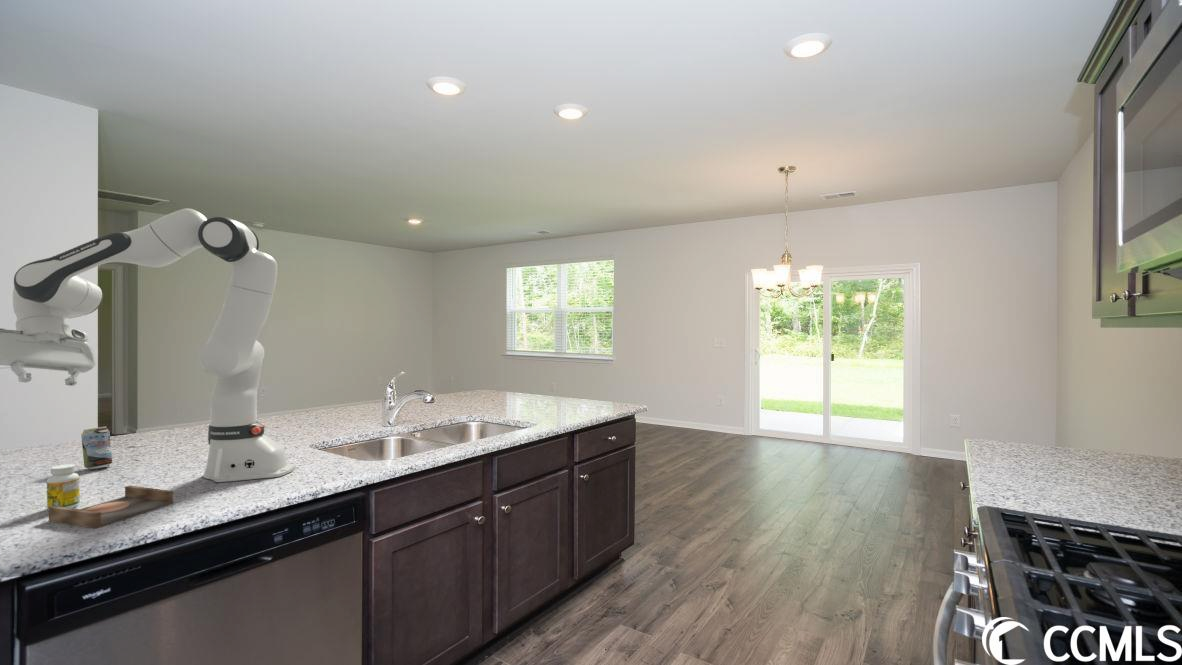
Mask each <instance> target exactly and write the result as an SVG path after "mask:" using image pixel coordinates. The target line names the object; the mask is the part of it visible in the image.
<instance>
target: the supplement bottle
mask: <svg viewBox="0 0 1182 665" xmlns="http://www.w3.org/2000/svg"><path fill="white" fill-rule="evenodd" d="M75 471H76V464H74V463H73V464H72V463H70V464H60V465H55V466H51V467H50V474H51V476H50V477H48V478H47V480H46V508H47V509H46V510H47V511H49V507H51V506H60V507H67V508H74V507H75V508H76V507H78V506H79V505H80V501H81V500H80V499H81V498H80V495H81V493H80V476H79V474H78V473H77V472H75ZM75 508H74V509H75Z"/></svg>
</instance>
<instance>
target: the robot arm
mask: <svg viewBox="0 0 1182 665" xmlns="http://www.w3.org/2000/svg"><path fill="white" fill-rule="evenodd" d="M203 248H204V249H205V250H206V251H207V252H208V253H210V254H212V255H214V256H215V257H218V258H219V259H221V260H223V261H224V262H227V263H230V264H231V268H232V272H231V276H230V280H229V283H228V287H227V290H226V294H225V298H224V302H223V306H222V309H221V312H220V314H219V316H218V319H217V320H216V322H215V324H214V327H213V328H212V330H211V332H210V334H209V337H208V339H207V341H206V343H205V344H204V345H203V346H202V348H200V350H199V354H198V357H197V358H198V363H199V366H200V368H201V369H202V370H203V371H204V372H205V373H207V374H209V375H212V376H215V377H216V380H215V384H214V388H213V391H212V393H211V395H210V399H209V401H210V402H209V404H210V405H209V406H210V408H209V409H210V416H209V417H210V418H209V419H210V420H209V422H210V424H209V425H208V431H207V440H208V445H209V448H208V456H207V461H206V466H205V469H204V473H203V475H202V476H203V478H204V479H208V480H212V481H213V482H215V483H223V482H237V481H246V480H247V481H248V480H258V479H268V478H269V479H271V478H280V477H283V476H285V475H288V474H289V473H291V472H292V471H294V470H295V469H296V466H297V465H296V462H295V461H293V460H292V461H291V460H288V456H287V455H288V454H287V451H286V448H285V447H284V445H282V444H281V443H278V442H277V441H276V440H274V439H273V438H271V437H269V436H267V435H266V434H265V428H266V427H267V425H266V423H263V424H262V423H260V422H259V421H258V419H257V418H258V417H257V416H258V415H257V414H258V389H259V384H260V380H261V373H262V366H263V360H264V359H265V353H266V352H265V348H264V346H263V344H261V342H260V341H258V340H257V339H258V337H259V335H260V333H261V331H262V328H263V327H264V326H265V324H266V322H267V321H268V316H269V313H270V309H271V306H272V303H273V298H274V294H275V290H276V287H277V286H276V284H277V280H278V263H277V261H276V259H275V258H274V257H273V256H271V255H270V254H268V253H266V252H263V251H260V250H259V248H260V241H259V238H258V235H257V234H256V233H255V231H253V229H251V228H249V227H248V226H246V225H245V224H244V223H242V222H241V221H238V220H235V219H232V218H231V217H228V216H214V217H213V216H212V217H210V218H207V217H206V216H205V215H204V214H202V213H201V212H200V211H198V210H195V209H193V208H190V207H189V208H188V207H187V208H182V209H179V210H176V211H173V212H171V213H167V214H166V215H163V216H161V217H159V218H157V219H155V220H154V221H151V222H150V223H148V224H146V225H144V226H141V227H139V228H135V229H132V230H128V231H125V232H124V231H123V232H112V233H109V234H104V235H103V236H100V237H97V238H95V239H92V240H89V241H87V242H84V243H82V244H80V245H78V246H75V247H72V248H71V249H67V250H66V251H62V252H61V253H59V254H56V255H53V256H51V257H48V258H43V259H42V258H41V259H38V260H34V261H31V262H29V263H26V264H25V265H23V266H21V267H20V268H18V270H17V271H16V272H15V274H14V277H13V286H14V287H13V291H12V308H13V313H14V314H15V316H16V322H15V329H7V328H6V329H5V328H1V327H0V366H7V367H10V370H11V371H12V372H13V373H14V374H15V375H16V376H17V377H18V382H19V383H29V382H30V381H32V379H33V378H32V373H30V372H29V373H28V372H27V371H26V369H25V368H29V369H37V370H38V369H41V370H50V371H58V372H59V371H60V372H68V375H70V376H68V377H67V378H65V379H64V382H65V386H70V387H71V386H75V385H77V383H78V376H79V374H80V373H81V374H83V373H87V372H89V371H91V370H92V369H94V368H95V366H96V364H97V362H96V356H95V353H94V350H93V347H92V345H91V344H90V343H88V341H90V336H89V334H88V333H87V332H83V331H82V330H79V329H76V328H74V327H72V326H70V325H68V324H65V319H73V318H79V317H82V316H83V317H84V316H86V315H90V314H92V313H94V312H95V311H97V310H98V309H99V307H100V306H101V305H102V303H103V299H104V293H103V291H102V288H101V286H99V285H98V284H95V283H94V282H92V281H90V280H88V279H86V278H83V277H81V276H78V275H81V274H83V273H85V272H87V271H90V270H93V269H95V268H97V267H99V266H102V265H104V264H107V263H109V264H110V263H124V264H125V263H126V264H133V265H138V266H142V267H146V268H147V267H148V268H163V267H166V266H169V265H171V264H174V263H176V262H177V261H179V260H181V259H182V258H184V257H187V255H189V254H191V253H193V252H194V251H196V250H198V249H203Z"/></svg>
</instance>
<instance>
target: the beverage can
mask: <svg viewBox="0 0 1182 665" xmlns="http://www.w3.org/2000/svg"><path fill="white" fill-rule="evenodd" d="M111 444H112V442H111V434H110V430H109V429H108V428H107V426H101V427H100V426H99V427H92V428H86V429H83V431H82V433H81V445H82V447H81V448H82V457H83V466H84V467H83V468H84V469H88V470H94V469H100V468H101V469H102V468H105V467H109V466H110V465H111V464H112V463H113V453H112V446H111Z"/></svg>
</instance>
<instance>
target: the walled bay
mask: <svg viewBox="0 0 1182 665" xmlns="http://www.w3.org/2000/svg"><path fill="white" fill-rule="evenodd" d="M173 504H174V490H169V489H168V490H167V489H160V488H152V487H144V486H136V485H126V486H124V496H122V497H119V498H115V499H112V500H108V501H105V502H102V503H98V504H94V505H90V506H87V507H83V508H67V507H60V506H51V507H49V510H48V522H52V521H53V522H54V523H61V524H65V523H66V525H71V524H73V526H77V525H79V526H80V527H84V526H85V527H84V528H90V527H91V528H90V529H98V528H101V527H105V526H108V525H110V524H115V523H116V522H120V521H123V520H126V519H129V518H133V517H136V516H139V515H142V514H145V513H147V512H152V511H154V510H157V509H160V508H164V507H167V506H170V505H173ZM53 522H52V523H53ZM79 526H78V527H79Z"/></svg>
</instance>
